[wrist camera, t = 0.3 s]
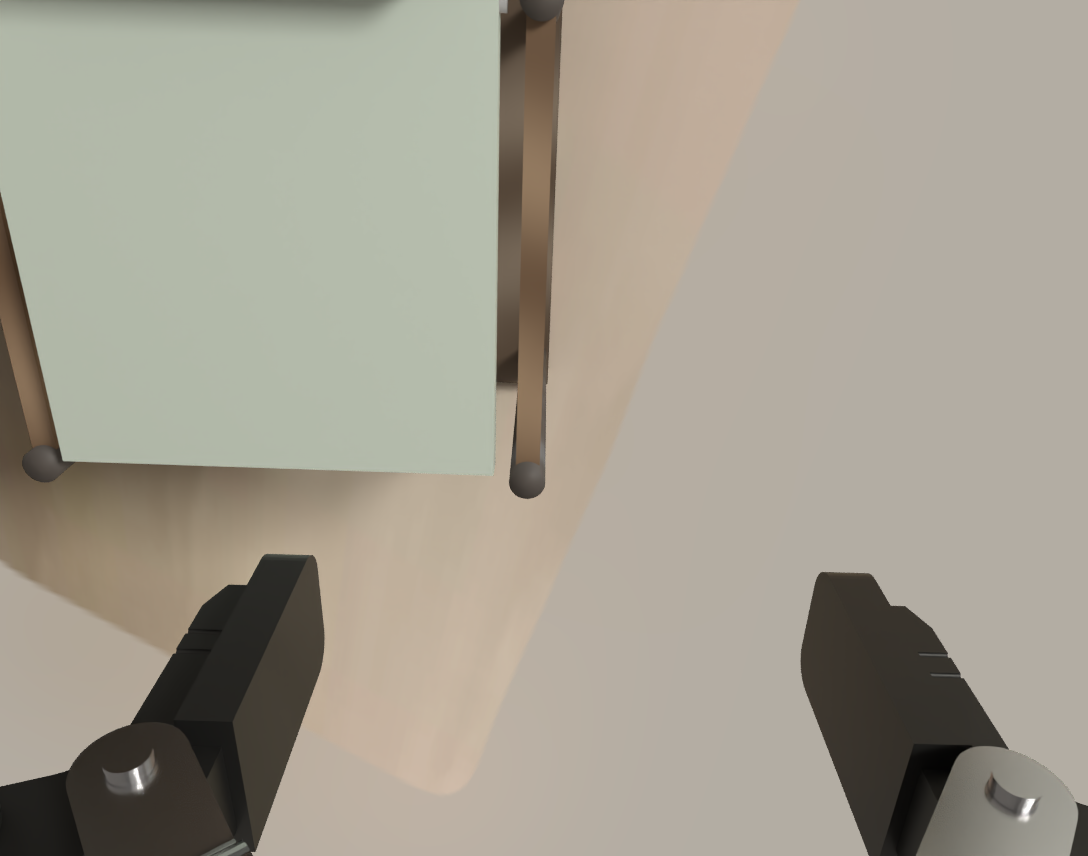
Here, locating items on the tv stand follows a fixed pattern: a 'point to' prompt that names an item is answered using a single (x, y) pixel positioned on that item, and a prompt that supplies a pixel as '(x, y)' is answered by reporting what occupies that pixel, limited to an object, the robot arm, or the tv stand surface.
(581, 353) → the tv stand surface
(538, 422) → the trapdoor stand
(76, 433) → the trapdoor plate
